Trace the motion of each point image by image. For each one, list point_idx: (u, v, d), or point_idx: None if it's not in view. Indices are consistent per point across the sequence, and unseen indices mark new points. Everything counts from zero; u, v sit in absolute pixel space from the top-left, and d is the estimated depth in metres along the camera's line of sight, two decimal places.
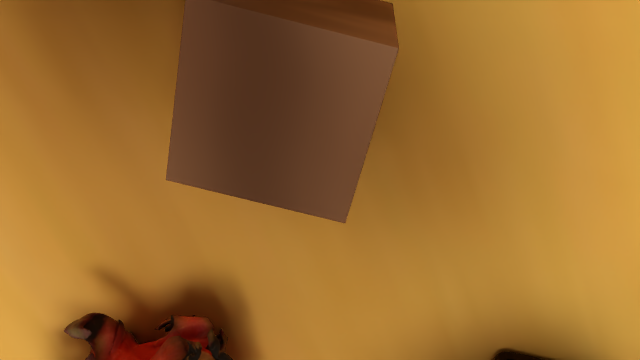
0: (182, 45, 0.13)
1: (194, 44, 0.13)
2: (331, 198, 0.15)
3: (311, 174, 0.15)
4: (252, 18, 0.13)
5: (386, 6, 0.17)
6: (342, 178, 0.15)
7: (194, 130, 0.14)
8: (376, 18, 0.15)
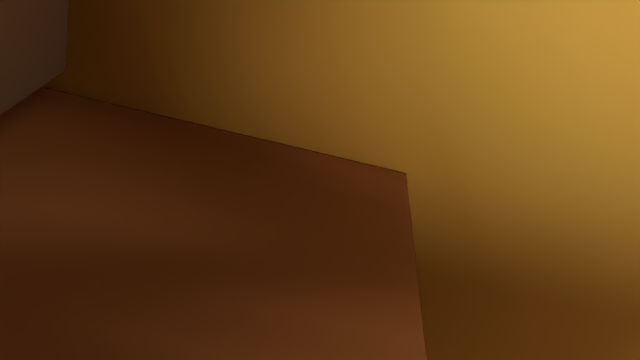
0: None
1: None
2: None
3: None
4: None
5: (392, 197, 0.07)
6: None
7: None
8: (367, 293, 0.05)
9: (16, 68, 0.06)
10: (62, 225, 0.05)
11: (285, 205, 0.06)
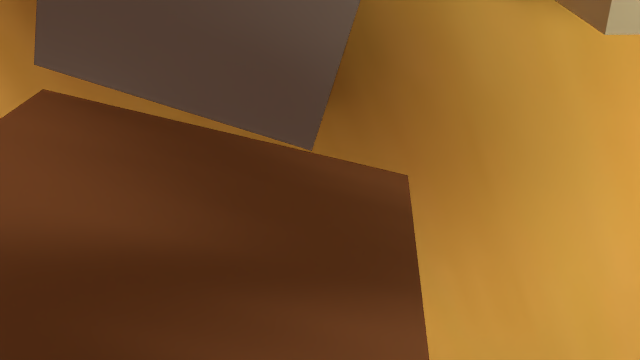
0: None
1: None
2: None
3: None
4: None
5: (394, 199, 0.07)
6: None
7: None
8: (370, 296, 0.05)
9: None
10: (65, 228, 0.05)
11: (287, 207, 0.06)
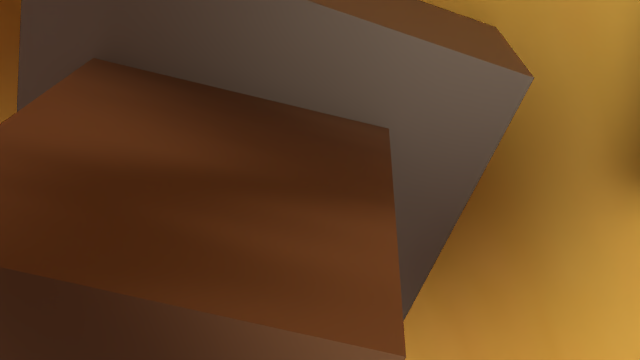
0: None
1: None
2: None
3: None
4: (27, 288, 0.05)
5: (377, 144, 0.09)
6: None
7: None
8: (355, 204, 0.07)
9: None
10: (126, 152, 0.07)
11: (292, 146, 0.08)
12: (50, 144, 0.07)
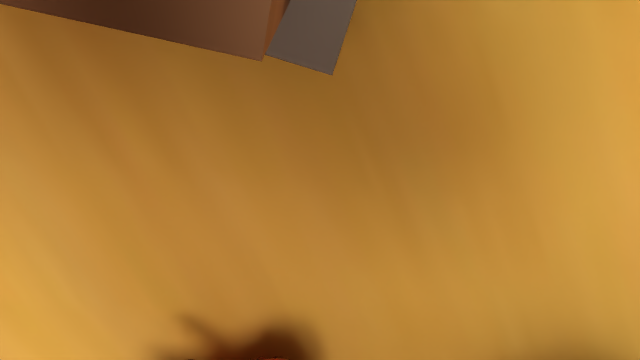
0: None
1: None
2: (236, 20, 0.10)
3: None
4: None
5: None
6: None
7: None
8: None
9: None
10: None
11: None
12: None
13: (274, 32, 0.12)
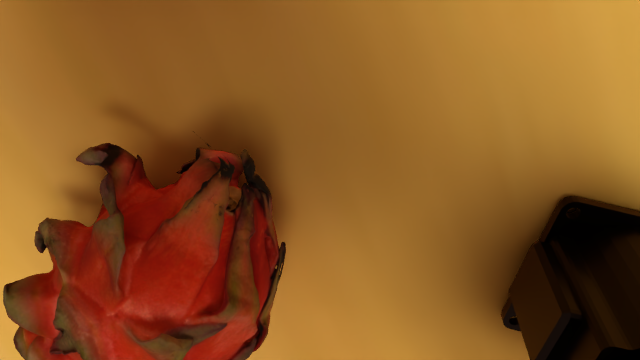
0: None
1: None
2: None
3: None
4: None
5: None
6: None
7: None
8: None
9: None
10: None
11: None
12: None
13: None
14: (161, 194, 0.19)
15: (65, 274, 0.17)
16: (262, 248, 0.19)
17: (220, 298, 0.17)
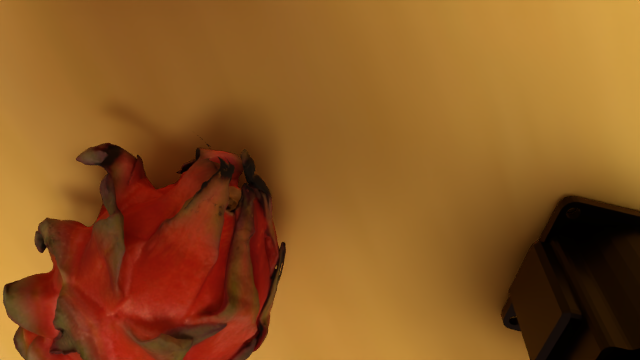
0: None
1: None
2: None
3: None
4: None
5: None
6: None
7: None
8: None
9: None
10: None
11: None
12: None
13: None
14: (161, 194, 0.19)
15: (65, 274, 0.17)
16: (262, 248, 0.19)
17: (220, 298, 0.17)
